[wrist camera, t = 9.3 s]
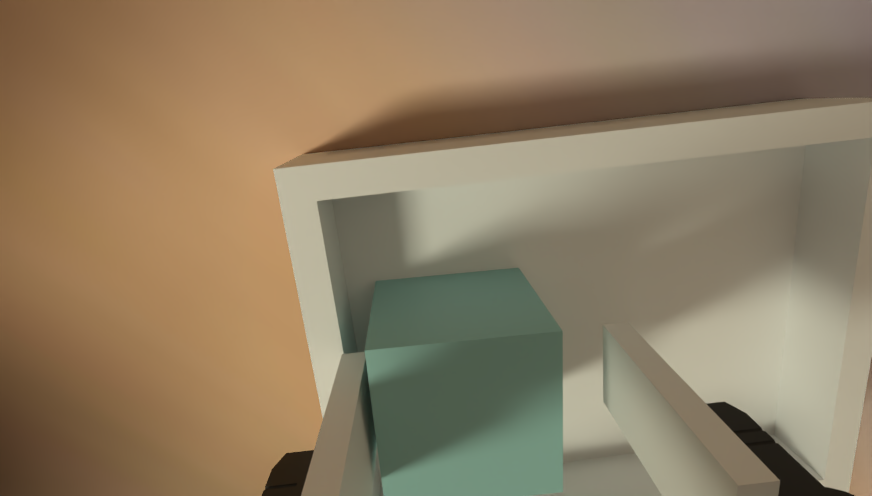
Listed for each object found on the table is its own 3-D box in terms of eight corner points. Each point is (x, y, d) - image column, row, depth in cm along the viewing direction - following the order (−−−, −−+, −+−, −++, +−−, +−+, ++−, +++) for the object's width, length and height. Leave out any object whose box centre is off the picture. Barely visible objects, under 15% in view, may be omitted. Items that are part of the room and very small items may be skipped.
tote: (361, 482, 21) (352, 566, 17) (302, 154, 17) (273, 169, 13) (769, 428, 22) (847, 498, 18) (804, 98, 18) (915, 97, 14)
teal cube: (390, 405, 18) (385, 511, 14) (375, 280, 17) (364, 350, 12) (522, 392, 19) (563, 492, 14) (518, 267, 17) (562, 331, 12)
